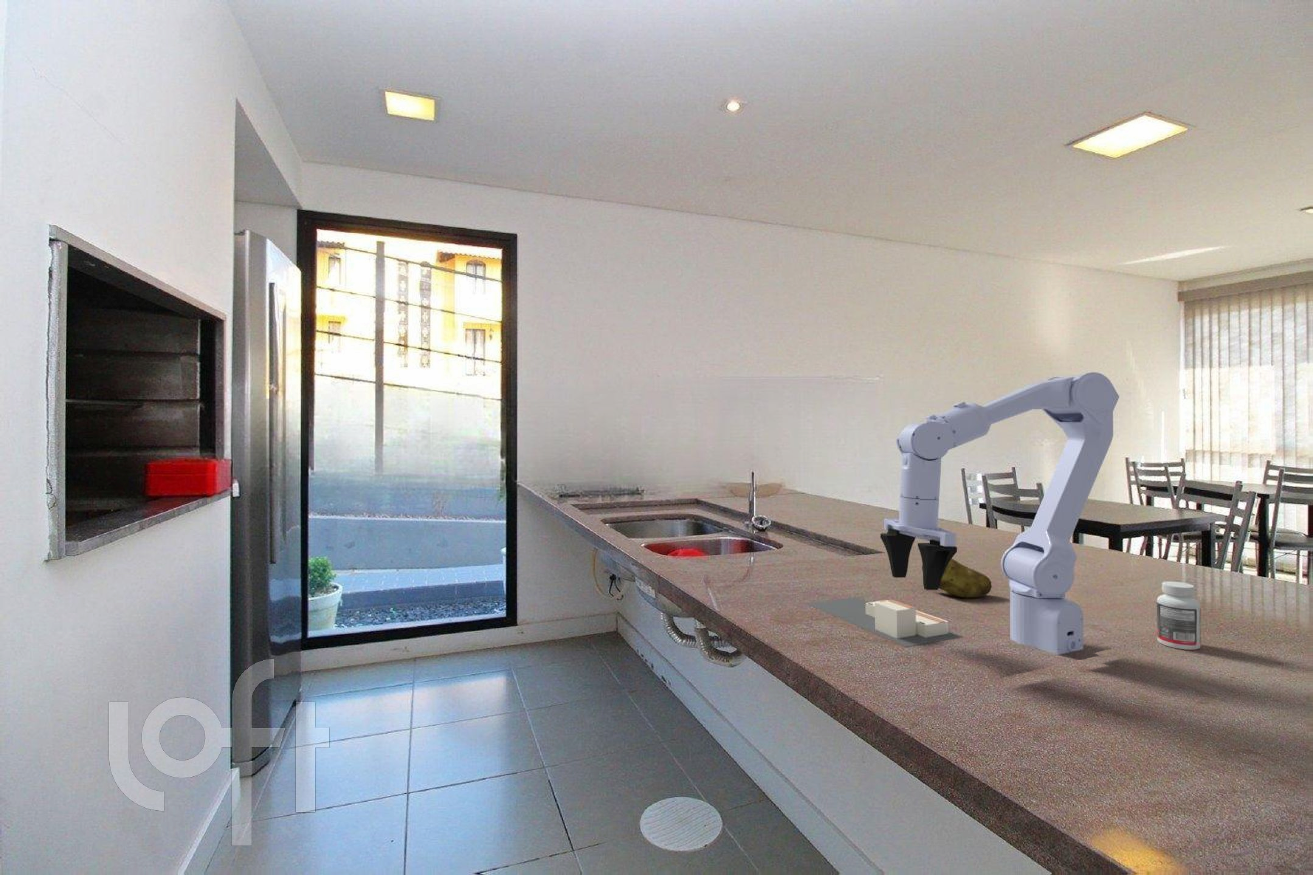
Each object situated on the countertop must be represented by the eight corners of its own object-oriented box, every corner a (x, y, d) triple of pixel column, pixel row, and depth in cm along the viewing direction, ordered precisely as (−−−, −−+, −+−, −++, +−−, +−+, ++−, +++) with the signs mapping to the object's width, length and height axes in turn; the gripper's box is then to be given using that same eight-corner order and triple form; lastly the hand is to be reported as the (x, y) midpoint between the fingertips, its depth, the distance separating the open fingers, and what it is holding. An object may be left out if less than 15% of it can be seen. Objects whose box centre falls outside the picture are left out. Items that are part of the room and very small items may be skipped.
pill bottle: (1165, 636, 102) (1165, 578, 102) (1206, 646, 97) (1206, 585, 97) (1150, 642, 99) (1150, 582, 99) (1191, 653, 94) (1192, 590, 94)
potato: (987, 604, 121) (987, 564, 121) (918, 594, 129) (918, 557, 129) (993, 595, 128) (993, 557, 128) (927, 586, 136) (927, 550, 136)
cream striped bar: (948, 633, 101) (948, 620, 101) (925, 637, 99) (925, 624, 99) (886, 610, 114) (886, 599, 114) (865, 613, 112) (865, 602, 112)
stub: (915, 635, 100) (915, 607, 100) (896, 638, 99) (896, 610, 99) (893, 626, 105) (893, 599, 105) (875, 629, 103) (874, 602, 103)
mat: (962, 643, 99) (962, 636, 99) (906, 654, 95) (906, 646, 95) (855, 602, 124) (855, 596, 124) (805, 609, 119) (805, 603, 119)
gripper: (870, 492, 103) (865, 572, 103) (929, 503, 89) (924, 595, 89) (905, 493, 105) (901, 571, 105) (969, 504, 91) (964, 595, 91)
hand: (914, 583), depth 97 cm, fingers open, 7 cm apart
